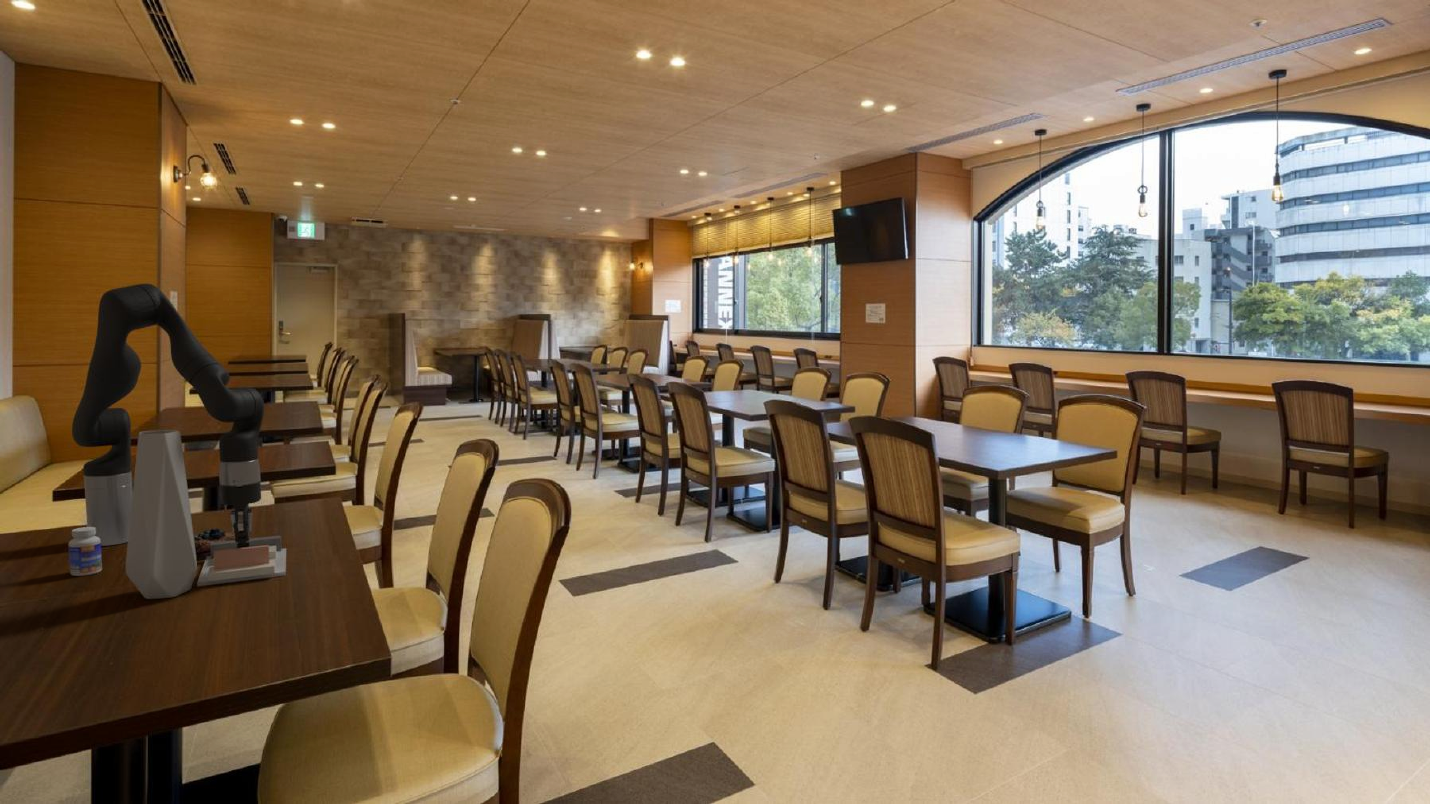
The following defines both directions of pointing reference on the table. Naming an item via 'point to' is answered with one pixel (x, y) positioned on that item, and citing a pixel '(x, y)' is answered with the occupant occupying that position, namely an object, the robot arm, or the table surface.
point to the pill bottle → (85, 552)
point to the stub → (241, 563)
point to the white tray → (272, 541)
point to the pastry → (209, 541)
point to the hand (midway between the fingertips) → (243, 558)
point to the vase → (160, 519)
